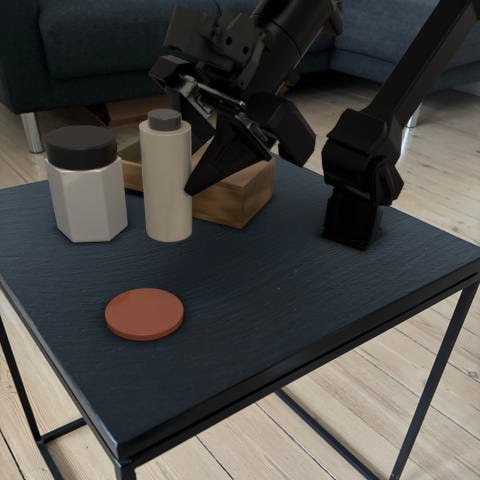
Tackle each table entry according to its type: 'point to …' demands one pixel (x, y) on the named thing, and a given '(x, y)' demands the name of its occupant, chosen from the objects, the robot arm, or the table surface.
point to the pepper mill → (166, 174)
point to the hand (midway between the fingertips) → (173, 184)
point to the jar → (86, 183)
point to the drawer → (131, 164)
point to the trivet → (144, 314)
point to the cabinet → (234, 194)
